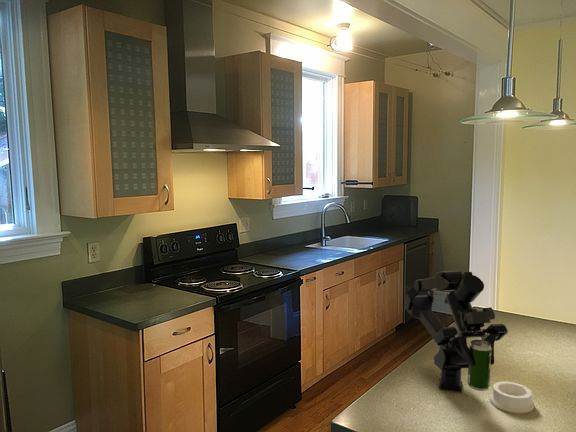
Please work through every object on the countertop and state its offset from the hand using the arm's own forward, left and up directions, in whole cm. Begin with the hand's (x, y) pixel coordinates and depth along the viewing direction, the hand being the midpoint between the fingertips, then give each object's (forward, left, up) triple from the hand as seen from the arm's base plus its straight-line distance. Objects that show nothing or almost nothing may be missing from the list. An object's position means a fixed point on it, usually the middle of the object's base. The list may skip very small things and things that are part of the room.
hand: (482, 365), depth 124 cm
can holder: (-9, +8, -13) cm, 18 cm away
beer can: (-1, -1, -7) cm, 7 cm away
